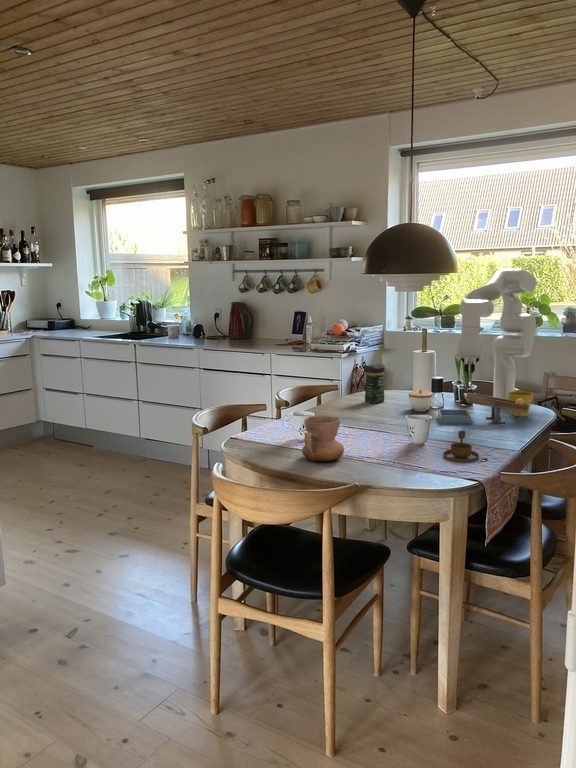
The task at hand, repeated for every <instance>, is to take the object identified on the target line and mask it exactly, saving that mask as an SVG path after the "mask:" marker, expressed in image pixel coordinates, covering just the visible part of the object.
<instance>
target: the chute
mask: <svg viewBox="0 0 576 768" xmlns="http://www.w3.org/2000/svg"><path fill="white" fill-rule="evenodd" d="M463 397H464V399H465V401H466V402H467V403H468V404H471V405H472V404H474V405H479V406H485V407H488V408H489V407H490V408H492V407H495V405H501V410H502V409H503V410H507V411H511V410H512V411H517V412H523V413H527V411H528V407H529V406H528V404H527V403H526V402H525V405H521V404H515V401H513V400H507V399H501V398H496V397H493V396H491V395H484V394H479V393H478V394H477V393H472V392H467V393H465V392H464V393H463Z"/></svg>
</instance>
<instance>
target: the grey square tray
mask: <svg viewBox="0 0 576 768" xmlns="http://www.w3.org/2000/svg"><path fill="white" fill-rule="evenodd" d="M437 418H438V422H439V425H471V421H472V420H471V414H470V412H469V410H468V409H455V408H454V409H450V408H449V409H447V408H446V409H445V408H444V409H443V408H442V409H437Z"/></svg>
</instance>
